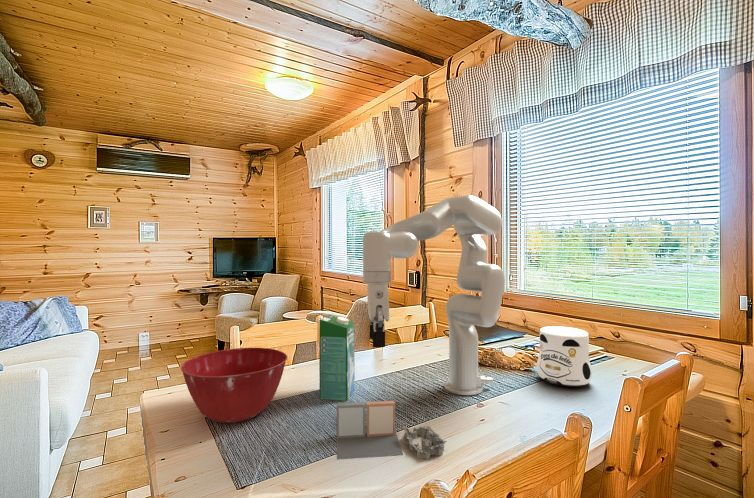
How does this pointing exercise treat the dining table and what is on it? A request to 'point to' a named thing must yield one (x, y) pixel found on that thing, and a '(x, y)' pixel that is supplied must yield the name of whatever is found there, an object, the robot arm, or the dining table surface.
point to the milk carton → (336, 358)
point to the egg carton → (424, 441)
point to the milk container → (564, 356)
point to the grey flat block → (350, 420)
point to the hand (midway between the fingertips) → (377, 342)
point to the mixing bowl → (234, 382)
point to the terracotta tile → (380, 418)
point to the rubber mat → (368, 446)
